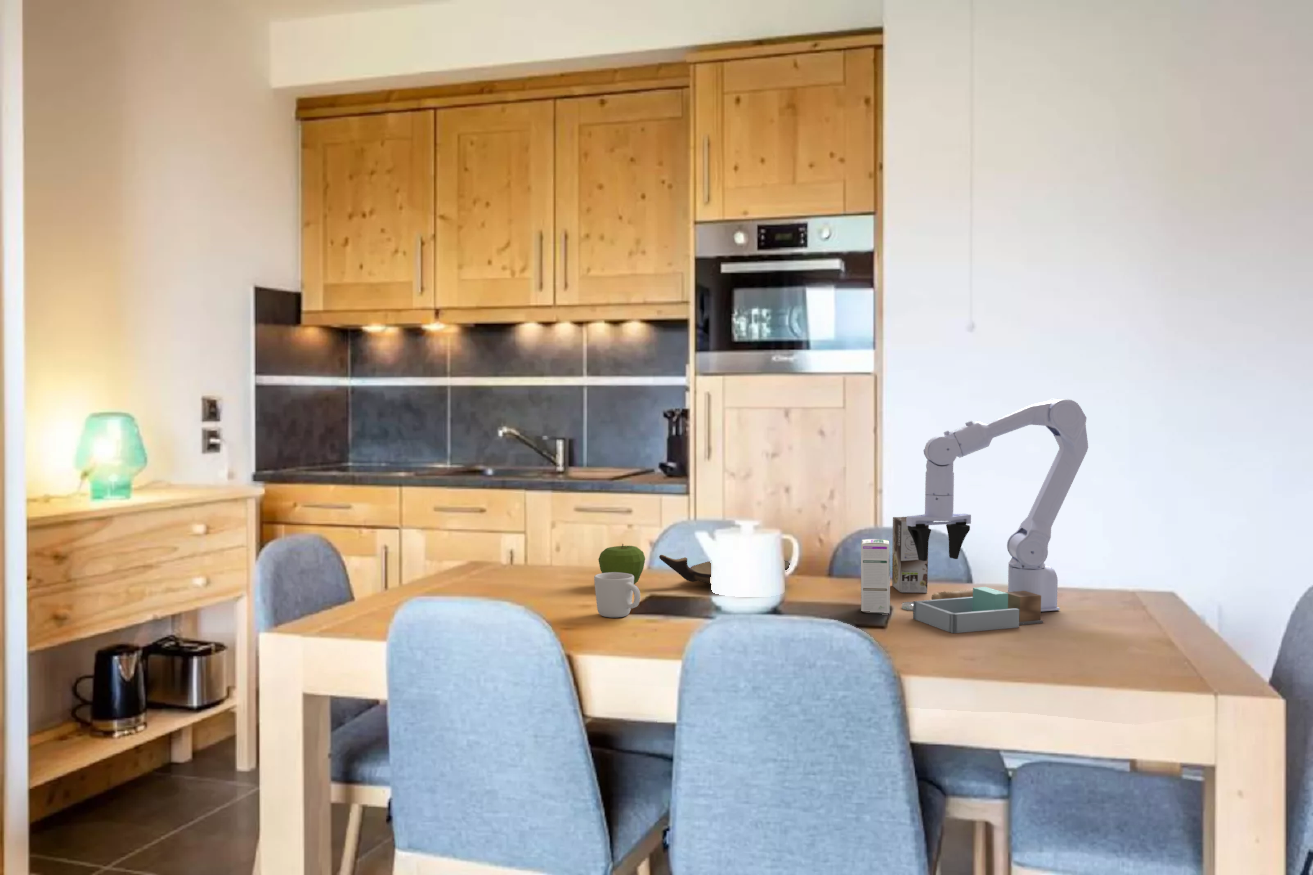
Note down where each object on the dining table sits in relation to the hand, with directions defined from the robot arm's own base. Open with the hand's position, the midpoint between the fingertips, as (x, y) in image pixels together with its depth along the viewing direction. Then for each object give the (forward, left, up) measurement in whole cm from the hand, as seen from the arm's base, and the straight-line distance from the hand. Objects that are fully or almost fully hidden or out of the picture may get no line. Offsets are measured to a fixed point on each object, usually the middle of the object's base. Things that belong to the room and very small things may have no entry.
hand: (938, 559), depth 222 cm
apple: (+56, -41, -10) cm, 70 cm away
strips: (-7, +15, -10) cm, 19 cm away
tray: (+4, +15, -10) cm, 18 cm away
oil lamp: (+32, -36, -10) cm, 49 cm away
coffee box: (-5, -18, -10) cm, 21 cm away
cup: (+66, -12, -10) cm, 68 cm away
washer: (+6, 0, -10) cm, 12 cm away
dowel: (-7, -3, -10) cm, 13 cm away
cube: (-9, +15, -10) cm, 20 cm away
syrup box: (+15, 0, -10) cm, 18 cm away
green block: (-2, +15, -10) cm, 18 cm away
